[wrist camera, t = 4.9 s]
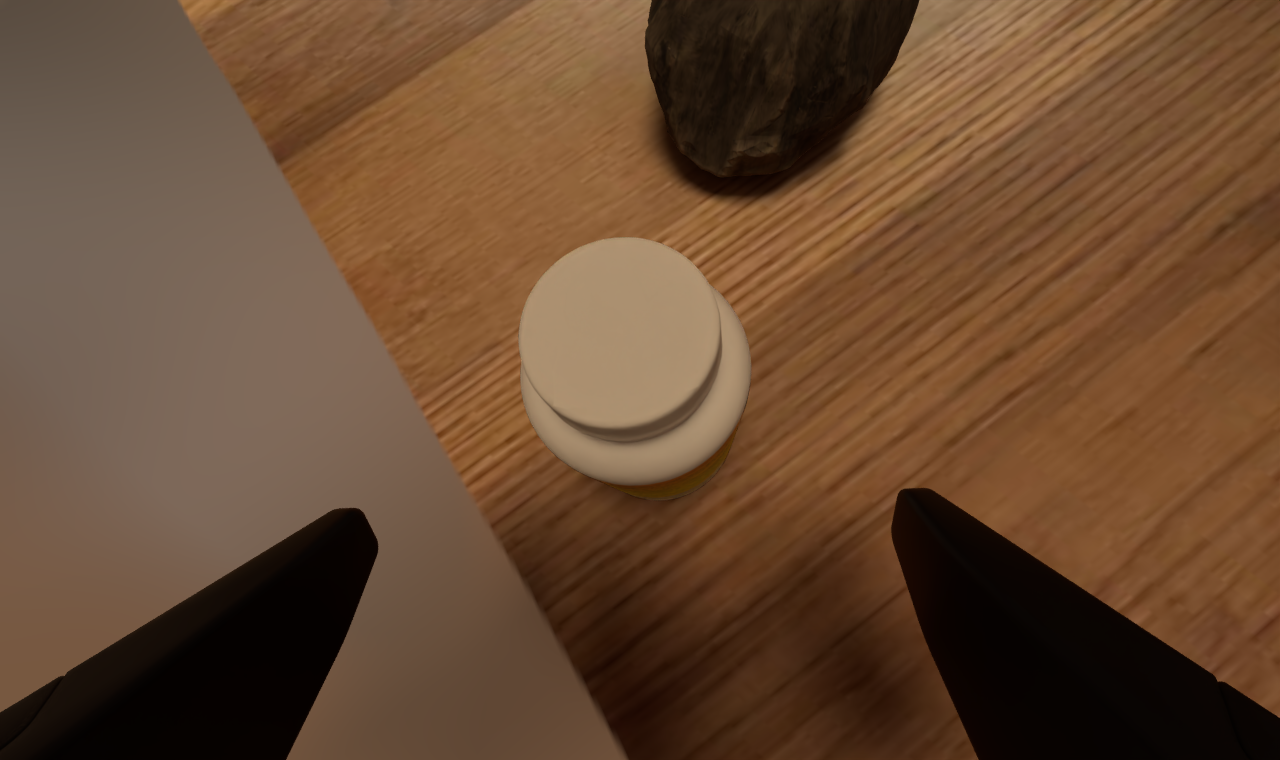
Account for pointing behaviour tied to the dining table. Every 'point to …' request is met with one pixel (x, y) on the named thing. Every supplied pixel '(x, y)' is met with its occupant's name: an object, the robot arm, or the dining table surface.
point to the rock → (767, 73)
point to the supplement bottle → (633, 367)
